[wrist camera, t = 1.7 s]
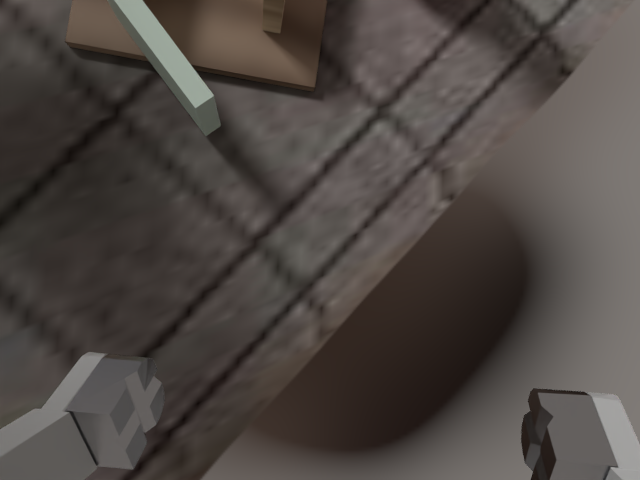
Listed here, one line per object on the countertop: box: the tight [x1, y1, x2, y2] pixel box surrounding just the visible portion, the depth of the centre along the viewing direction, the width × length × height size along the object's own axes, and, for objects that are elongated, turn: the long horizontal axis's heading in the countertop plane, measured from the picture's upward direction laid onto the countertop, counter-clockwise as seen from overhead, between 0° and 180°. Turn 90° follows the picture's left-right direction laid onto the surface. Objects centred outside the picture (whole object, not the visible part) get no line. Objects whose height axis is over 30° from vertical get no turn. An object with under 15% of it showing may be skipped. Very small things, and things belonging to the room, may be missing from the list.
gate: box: [107, 0, 221, 136], centre depth 36 cm, size 2×12×7 cm, turn 37°
